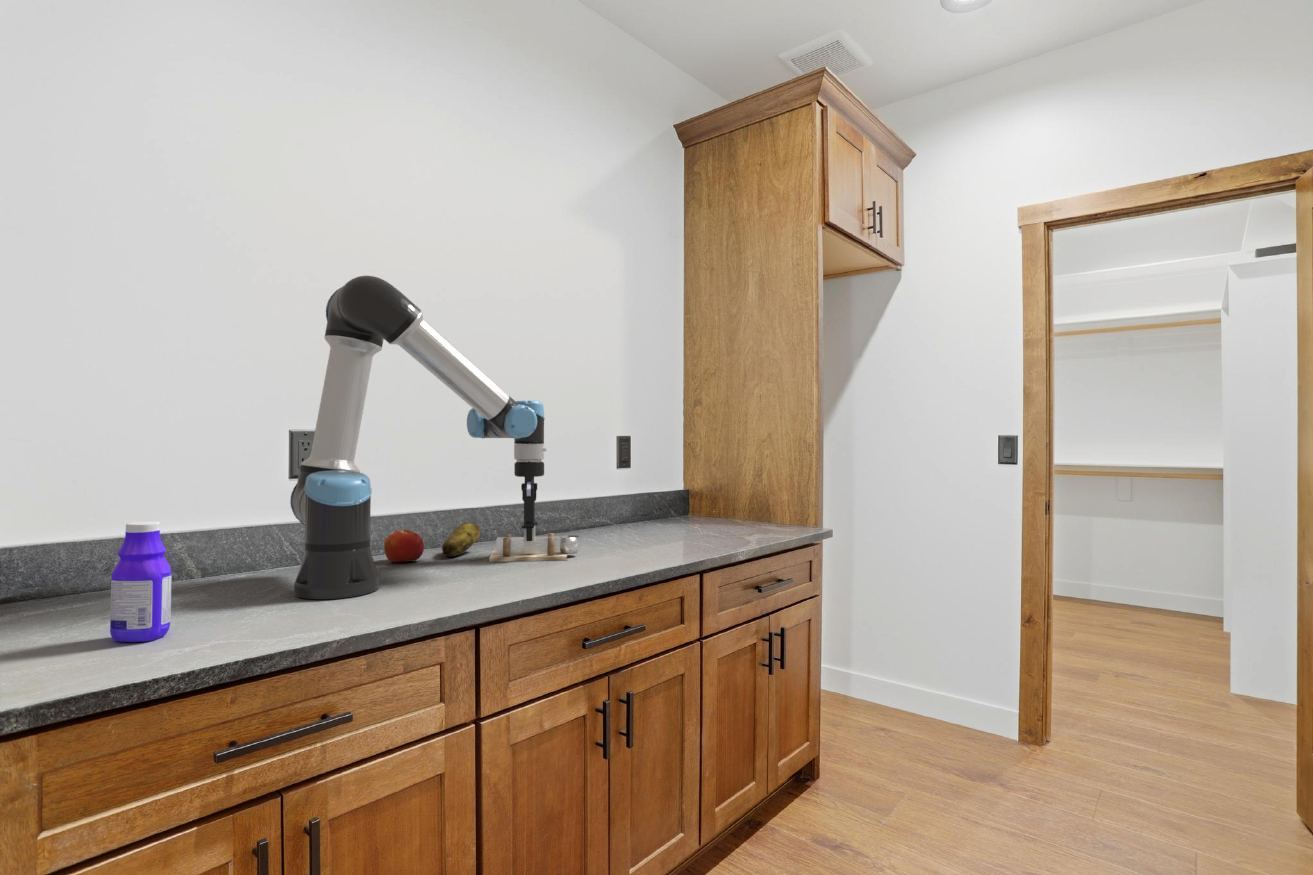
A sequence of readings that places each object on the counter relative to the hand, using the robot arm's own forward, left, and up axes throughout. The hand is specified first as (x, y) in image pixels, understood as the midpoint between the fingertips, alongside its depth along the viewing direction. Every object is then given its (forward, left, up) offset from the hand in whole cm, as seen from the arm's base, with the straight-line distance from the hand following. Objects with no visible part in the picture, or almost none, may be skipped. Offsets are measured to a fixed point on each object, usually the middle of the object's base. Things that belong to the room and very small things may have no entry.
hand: (529, 552), depth 170 cm
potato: (-18, +6, -2) cm, 19 cm away
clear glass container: (+2, 0, 0) cm, 2 cm away
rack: (0, 0, -1) cm, 1 cm away
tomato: (-30, -3, -2) cm, 30 cm away
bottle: (-55, -63, -1) cm, 84 cm away
